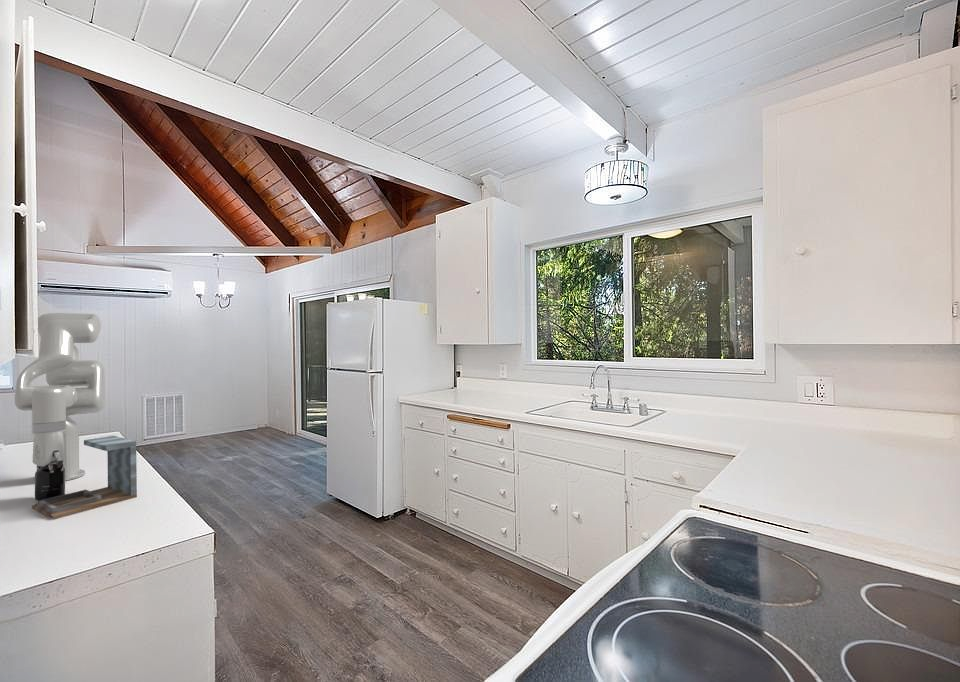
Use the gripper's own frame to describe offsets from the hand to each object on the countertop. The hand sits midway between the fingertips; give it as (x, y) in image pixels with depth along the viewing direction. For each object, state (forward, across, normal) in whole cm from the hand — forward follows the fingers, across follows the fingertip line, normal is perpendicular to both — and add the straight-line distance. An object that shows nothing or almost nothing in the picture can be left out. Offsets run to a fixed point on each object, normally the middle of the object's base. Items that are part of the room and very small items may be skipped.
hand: (49, 482), depth 137 cm
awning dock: (+5, +14, +4) cm, 16 cm away
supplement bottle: (+5, -1, 0) cm, 5 cm away
